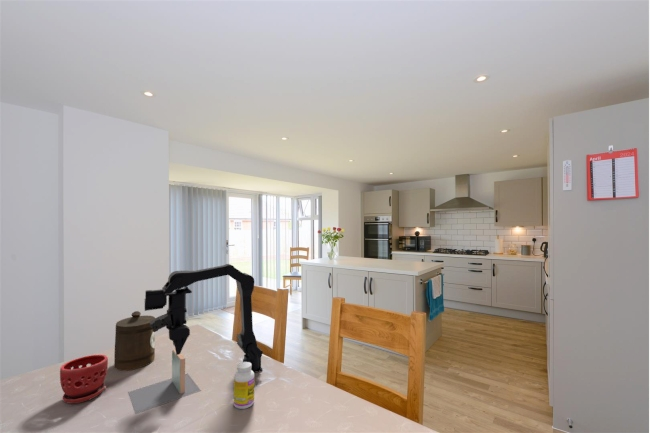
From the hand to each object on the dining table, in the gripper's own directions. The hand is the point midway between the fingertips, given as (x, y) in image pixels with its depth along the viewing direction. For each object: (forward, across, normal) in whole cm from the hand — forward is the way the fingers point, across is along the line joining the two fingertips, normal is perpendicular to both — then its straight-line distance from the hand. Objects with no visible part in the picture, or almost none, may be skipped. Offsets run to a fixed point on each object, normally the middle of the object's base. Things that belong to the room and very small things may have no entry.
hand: (176, 349), depth 108 cm
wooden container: (+15, -34, -13) cm, 39 cm away
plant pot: (+15, -14, -28) cm, 34 cm away
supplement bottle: (+15, +21, +18) cm, 32 cm away
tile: (+14, -1, +1) cm, 14 cm away
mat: (+15, 0, -4) cm, 15 cm away
